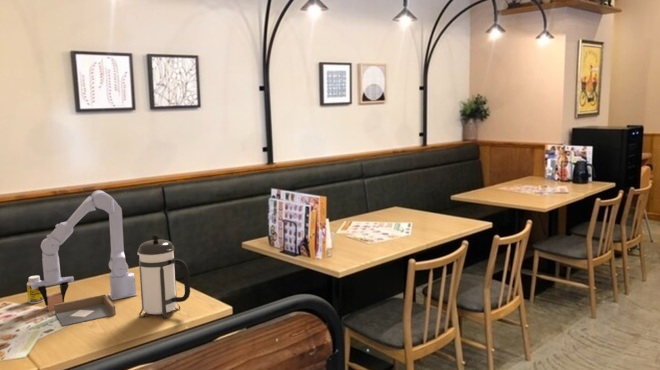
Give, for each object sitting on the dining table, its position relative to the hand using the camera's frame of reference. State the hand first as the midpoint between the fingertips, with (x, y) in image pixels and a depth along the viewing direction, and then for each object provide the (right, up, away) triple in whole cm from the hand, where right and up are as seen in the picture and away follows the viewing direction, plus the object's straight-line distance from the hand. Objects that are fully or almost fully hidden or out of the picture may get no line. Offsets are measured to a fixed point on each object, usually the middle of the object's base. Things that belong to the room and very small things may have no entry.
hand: (54, 303), depth 210 cm
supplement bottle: (-11, -1, +7) cm, 13 cm away
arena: (+15, -2, -7) cm, 17 cm away
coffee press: (+45, -2, -8) cm, 45 cm away
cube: (0, -2, 0) cm, 2 cm away
